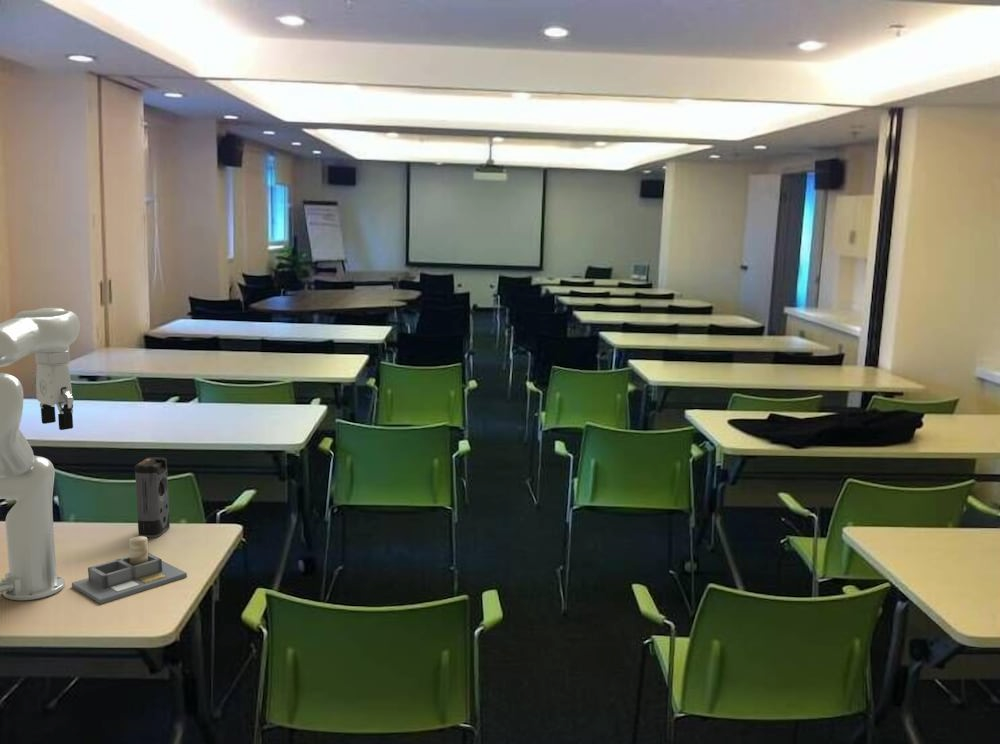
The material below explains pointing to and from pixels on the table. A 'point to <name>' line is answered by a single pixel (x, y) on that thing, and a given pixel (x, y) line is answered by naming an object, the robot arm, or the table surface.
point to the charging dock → (126, 578)
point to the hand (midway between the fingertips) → (57, 425)
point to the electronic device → (152, 497)
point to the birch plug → (138, 550)
